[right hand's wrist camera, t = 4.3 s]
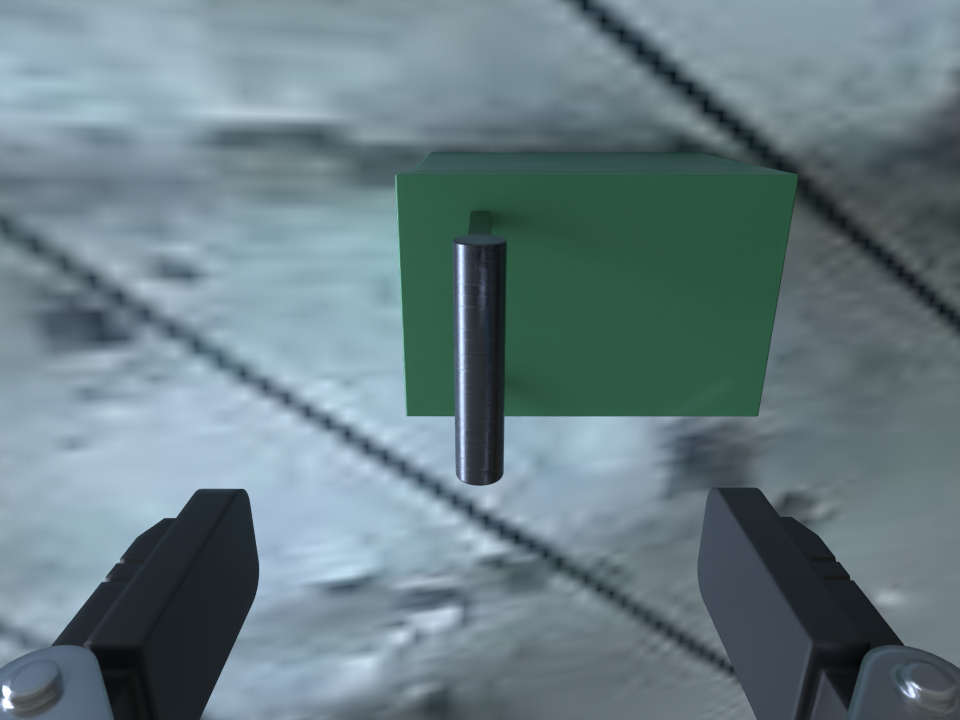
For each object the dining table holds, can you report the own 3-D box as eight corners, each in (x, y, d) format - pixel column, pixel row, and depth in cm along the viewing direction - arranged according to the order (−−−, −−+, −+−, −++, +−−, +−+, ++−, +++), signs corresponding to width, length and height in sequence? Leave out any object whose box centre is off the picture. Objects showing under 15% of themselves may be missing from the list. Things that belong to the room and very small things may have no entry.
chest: (434, 327, 37) (418, 404, 27) (429, 152, 33) (410, 171, 24) (679, 327, 37) (747, 404, 27) (699, 152, 33) (785, 171, 24)
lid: (408, 404, 27) (381, 517, 20) (398, 171, 24) (361, 201, 17) (747, 405, 27) (847, 517, 20) (785, 171, 24) (923, 202, 17)
